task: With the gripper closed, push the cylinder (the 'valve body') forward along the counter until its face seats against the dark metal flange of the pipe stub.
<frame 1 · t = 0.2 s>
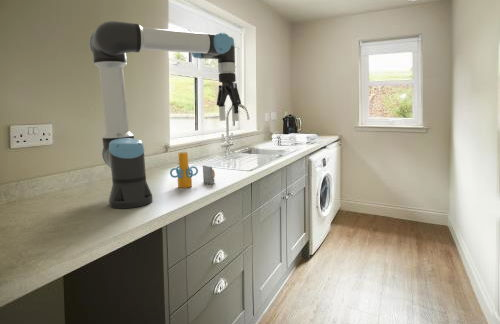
hand: (228, 120, 160), 28 cm above the table, fingers open, 13 cm apart
pipe stub: (208, 183, 159), on the table
cylinder: (185, 187, 154), on the table
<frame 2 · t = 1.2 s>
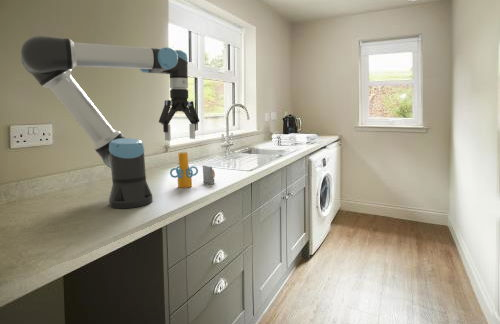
hand: (180, 139, 150), 21 cm above the table, fingers open, 13 cm apart
nothing on the table moved.
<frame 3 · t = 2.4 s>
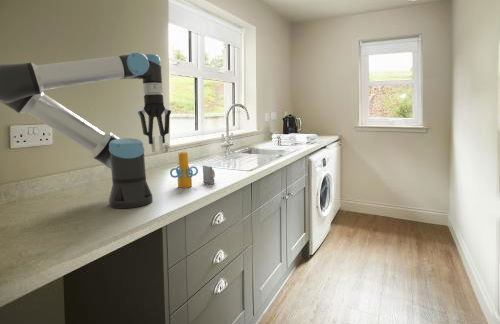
hand: (157, 151, 146), 17 cm above the table, fingers open, 3 cm apart
nothing on the table moved.
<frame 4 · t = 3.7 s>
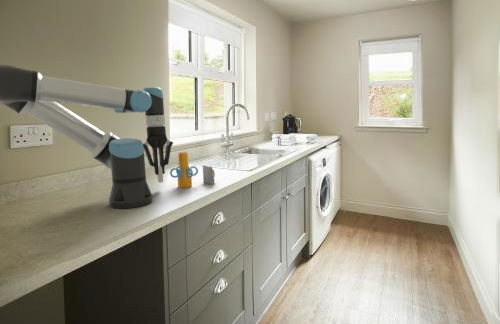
hand: (160, 181, 148), 4 cm above the table, fingers closed
nothing on the table moved.
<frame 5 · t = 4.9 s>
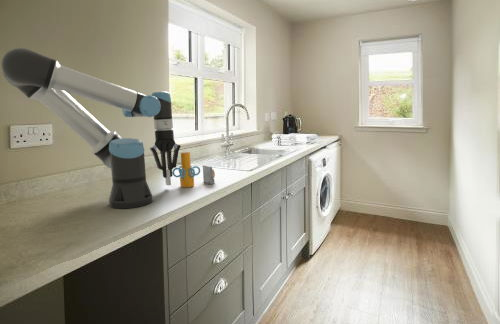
hand: (168, 184, 150), 2 cm above the table, fingers closed
cylinder: (187, 186, 154), on the table, touching gripper
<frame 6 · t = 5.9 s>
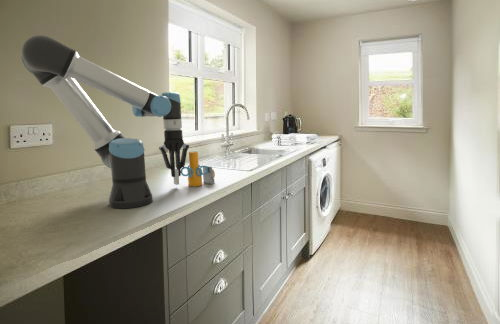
hand: (176, 183, 152), 2 cm above the table, fingers closed
cylinder: (195, 185, 156), on the table, touching gripper
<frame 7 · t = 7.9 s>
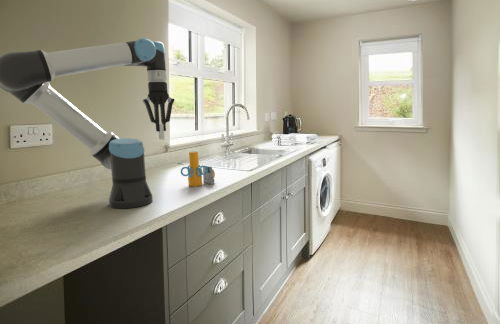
hand: (161, 139, 147), 21 cm above the table, fingers closed
cylinder: (195, 185, 156), on the table
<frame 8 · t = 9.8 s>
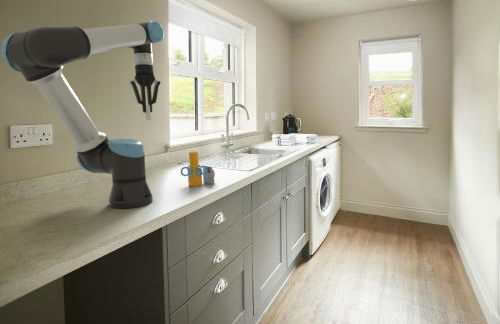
hand: (148, 120, 153), 29 cm above the table, fingers closed
nothing on the table moved.
at the end: cylinder inside the target area (1.5 cm from its centre), on the table; cylinder tilted 0°; cylinder moved 4.7 cm from its start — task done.
